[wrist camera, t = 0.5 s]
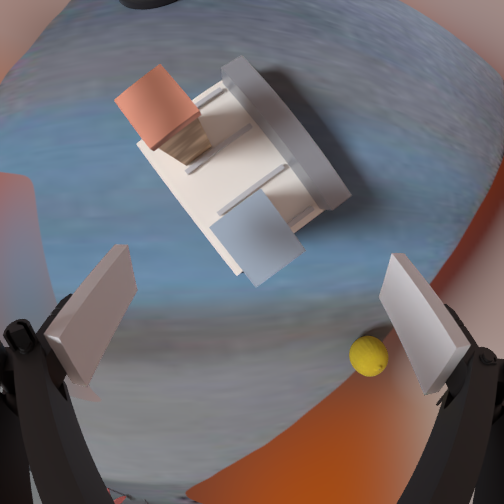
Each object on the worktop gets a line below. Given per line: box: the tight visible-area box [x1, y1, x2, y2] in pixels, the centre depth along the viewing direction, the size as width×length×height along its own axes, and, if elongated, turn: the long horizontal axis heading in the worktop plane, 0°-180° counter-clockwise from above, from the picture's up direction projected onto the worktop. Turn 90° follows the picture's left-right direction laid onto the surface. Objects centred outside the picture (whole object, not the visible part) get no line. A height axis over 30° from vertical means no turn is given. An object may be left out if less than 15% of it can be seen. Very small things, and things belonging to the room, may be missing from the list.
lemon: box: [349, 336, 388, 376], centre depth 37 cm, size 6×6×8 cm
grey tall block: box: [209, 189, 306, 287], centre depth 28 cm, size 5×6×15 cm
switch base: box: [137, 55, 352, 276], centre depth 32 cm, size 18×22×6 cm
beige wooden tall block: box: [114, 64, 212, 166], centre depth 26 cm, size 5×6×15 cm
